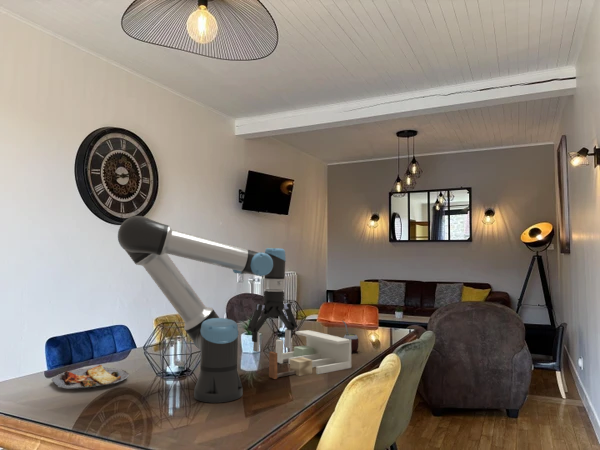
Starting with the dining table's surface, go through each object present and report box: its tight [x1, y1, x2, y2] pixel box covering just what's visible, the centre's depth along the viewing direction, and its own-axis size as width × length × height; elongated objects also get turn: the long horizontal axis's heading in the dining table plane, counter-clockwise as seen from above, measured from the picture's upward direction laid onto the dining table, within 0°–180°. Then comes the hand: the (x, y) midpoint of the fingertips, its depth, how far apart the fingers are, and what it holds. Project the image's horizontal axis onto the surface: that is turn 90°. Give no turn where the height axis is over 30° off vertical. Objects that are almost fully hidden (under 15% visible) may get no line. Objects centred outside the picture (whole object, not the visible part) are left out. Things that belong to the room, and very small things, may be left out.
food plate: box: [51, 364, 130, 390], centre depth 161 cm, size 25×23×4 cm
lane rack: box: [283, 329, 352, 375], centre depth 190 cm, size 17×28×11 cm, turn 37°
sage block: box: [275, 339, 314, 364], centre depth 195 cm, size 16×6×9 cm, turn 127°
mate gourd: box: [342, 320, 359, 355], centre depth 212 cm, size 8×8×15 cm
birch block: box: [268, 351, 313, 380], centre depth 172 cm, size 16×6×9 cm, turn 127°
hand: (272, 349), depth 168 cm, fingers open, 13 cm apart
